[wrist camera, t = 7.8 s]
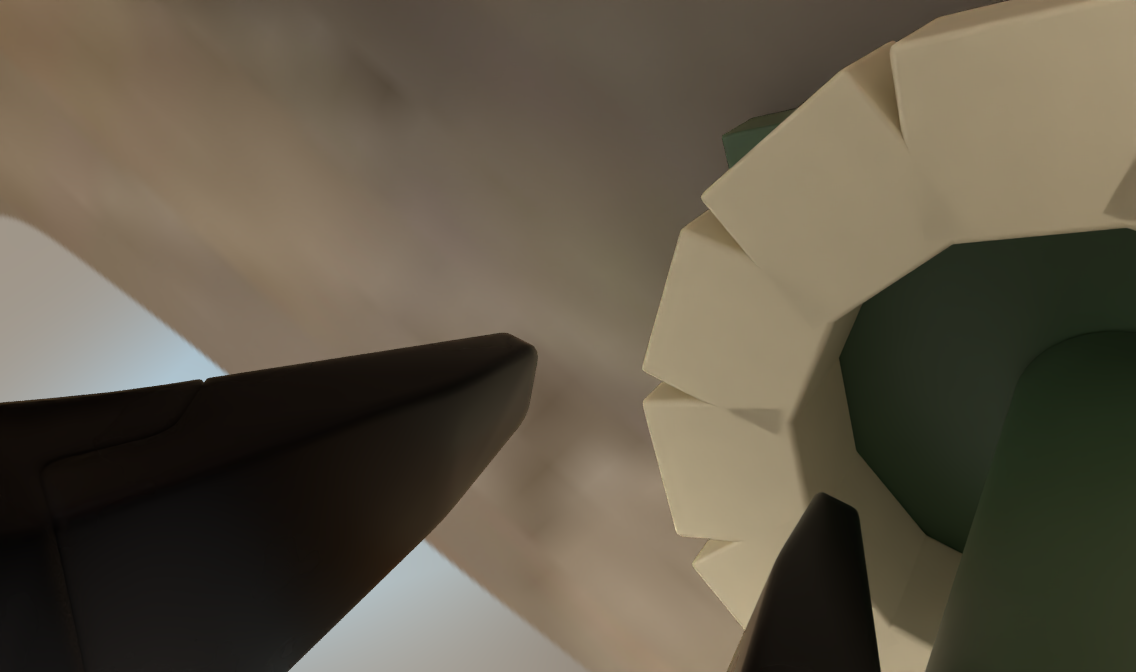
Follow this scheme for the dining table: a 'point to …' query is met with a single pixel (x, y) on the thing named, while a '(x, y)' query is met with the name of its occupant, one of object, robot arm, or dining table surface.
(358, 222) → the dining table surface
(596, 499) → the dining table surface
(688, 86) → the dining table surface
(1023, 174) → the ring
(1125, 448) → the peg stand
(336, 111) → the dining table surface
